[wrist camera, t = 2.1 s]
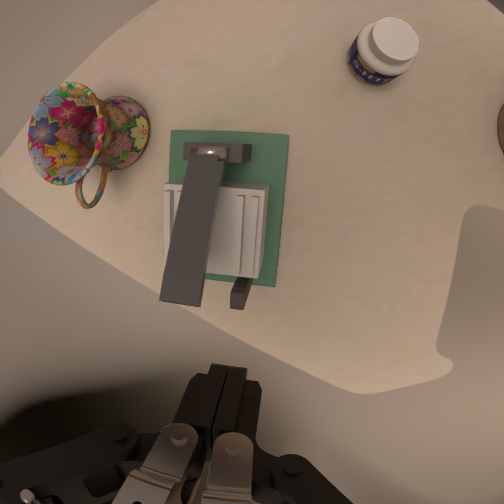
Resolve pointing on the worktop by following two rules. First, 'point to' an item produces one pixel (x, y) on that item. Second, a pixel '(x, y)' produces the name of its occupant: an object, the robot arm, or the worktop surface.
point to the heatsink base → (236, 205)
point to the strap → (193, 227)
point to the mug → (84, 136)
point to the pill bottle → (382, 51)
